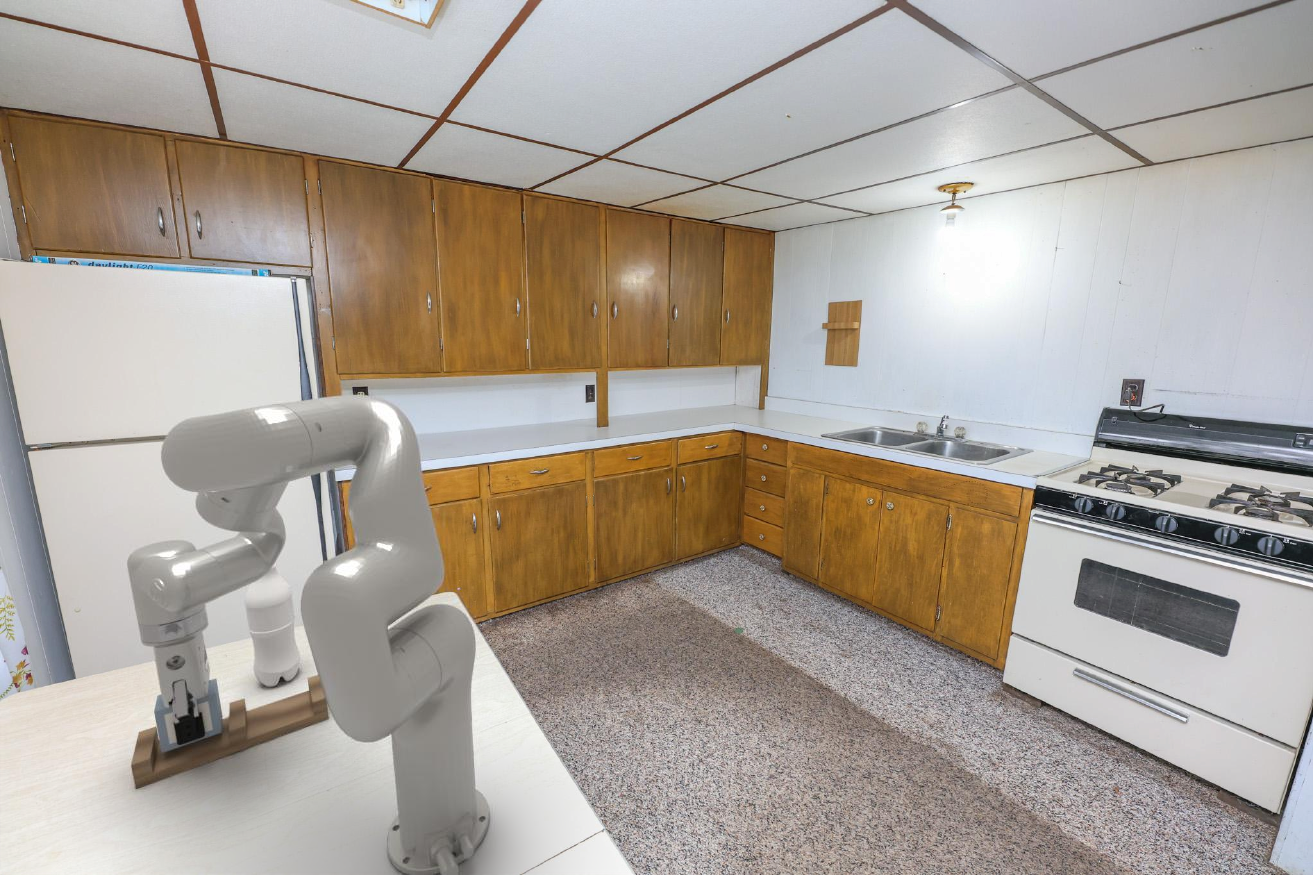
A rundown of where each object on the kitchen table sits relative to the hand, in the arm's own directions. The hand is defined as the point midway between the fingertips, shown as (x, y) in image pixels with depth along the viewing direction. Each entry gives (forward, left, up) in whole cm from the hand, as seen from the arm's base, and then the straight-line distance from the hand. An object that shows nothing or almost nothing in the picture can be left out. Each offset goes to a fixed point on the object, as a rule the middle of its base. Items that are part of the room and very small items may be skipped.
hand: (192, 728), depth 83 cm
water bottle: (+14, -12, -4) cm, 19 cm away
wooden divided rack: (0, -6, -4) cm, 7 cm away
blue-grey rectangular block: (0, 0, -1) cm, 1 cm away
